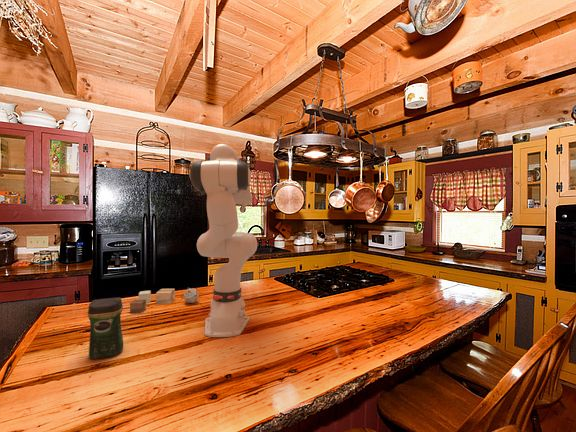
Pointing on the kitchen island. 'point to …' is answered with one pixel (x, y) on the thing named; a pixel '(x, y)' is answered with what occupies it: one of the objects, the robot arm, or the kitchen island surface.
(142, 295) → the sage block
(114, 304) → the coffee jar
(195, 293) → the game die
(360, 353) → the kitchen island surface
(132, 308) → the walnut block
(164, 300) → the oak base block
